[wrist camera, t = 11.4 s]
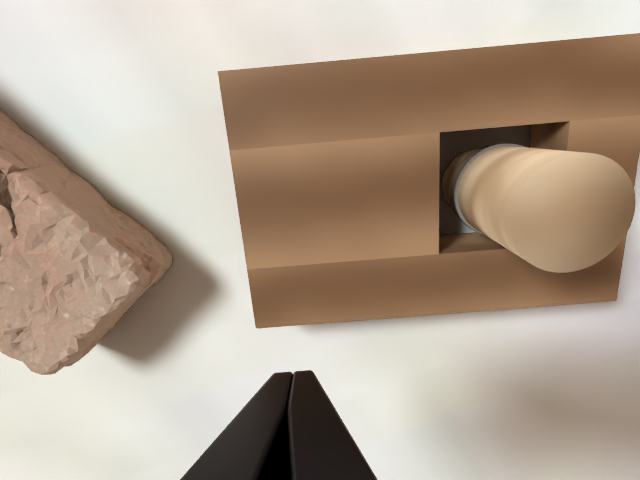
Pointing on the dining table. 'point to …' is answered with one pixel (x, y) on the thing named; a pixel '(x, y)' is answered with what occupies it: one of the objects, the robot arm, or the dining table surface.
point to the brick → (63, 257)
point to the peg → (543, 202)
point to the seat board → (410, 175)
